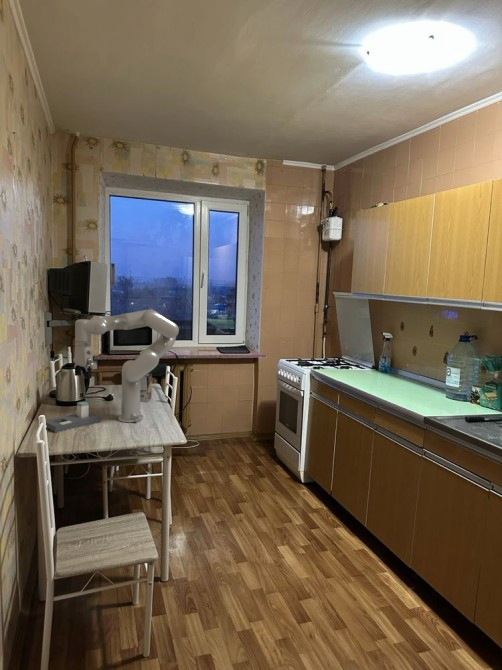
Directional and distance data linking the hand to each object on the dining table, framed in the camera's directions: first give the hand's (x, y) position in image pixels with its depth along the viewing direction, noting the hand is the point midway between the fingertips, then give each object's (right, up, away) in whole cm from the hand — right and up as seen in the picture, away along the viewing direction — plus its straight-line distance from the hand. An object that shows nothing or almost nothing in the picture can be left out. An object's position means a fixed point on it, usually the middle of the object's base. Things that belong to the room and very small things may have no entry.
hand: (83, 377), depth 226 cm
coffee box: (+20, -19, +49) cm, 56 cm away
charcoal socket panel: (-5, -24, -3) cm, 24 cm away
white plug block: (-1, -23, +2) cm, 23 cm away
